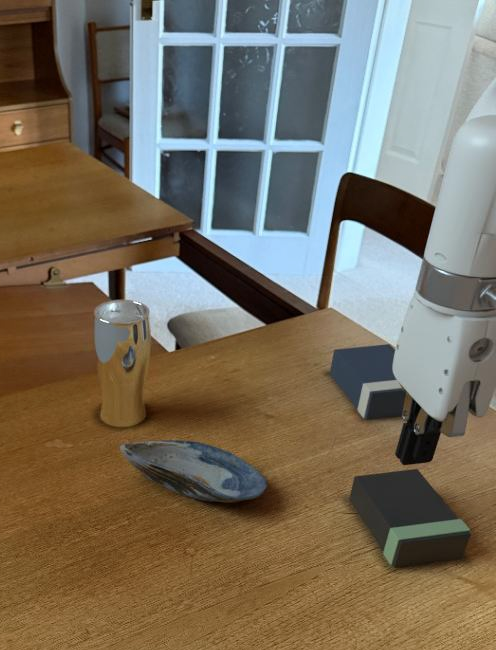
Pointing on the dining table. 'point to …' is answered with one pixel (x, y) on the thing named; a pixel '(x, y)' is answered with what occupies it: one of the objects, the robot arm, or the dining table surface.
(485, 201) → the robot arm
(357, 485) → the dark grey rectangular block
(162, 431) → the dining table surface
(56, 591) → the dining table surface
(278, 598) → the dining table surface
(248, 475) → the seashell
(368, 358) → the navy blue box
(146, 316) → the beer glass
